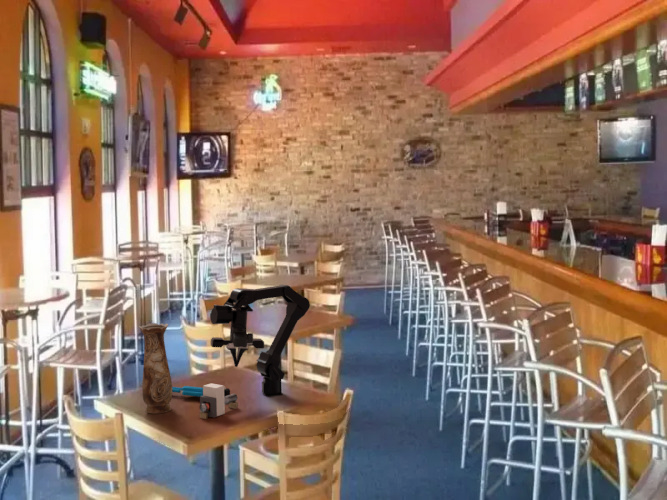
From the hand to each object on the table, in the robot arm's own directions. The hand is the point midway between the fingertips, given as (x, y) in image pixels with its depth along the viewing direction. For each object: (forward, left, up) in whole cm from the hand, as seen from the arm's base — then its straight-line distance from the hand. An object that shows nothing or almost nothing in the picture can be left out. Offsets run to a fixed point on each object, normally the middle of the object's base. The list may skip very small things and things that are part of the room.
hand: (236, 366), depth 292 cm
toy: (+14, -10, -13) cm, 22 cm away
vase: (+29, +2, -13) cm, 31 cm away
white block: (+11, +15, -13) cm, 22 cm away
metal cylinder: (+9, +13, -13) cm, 20 cm away
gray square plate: (+13, +16, -13) cm, 24 cm away
